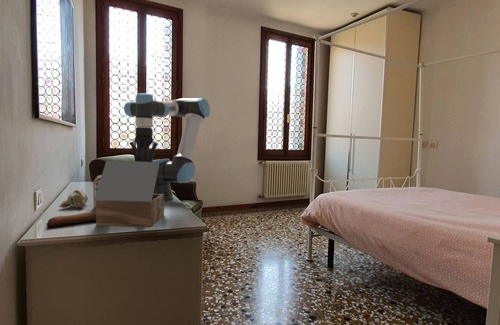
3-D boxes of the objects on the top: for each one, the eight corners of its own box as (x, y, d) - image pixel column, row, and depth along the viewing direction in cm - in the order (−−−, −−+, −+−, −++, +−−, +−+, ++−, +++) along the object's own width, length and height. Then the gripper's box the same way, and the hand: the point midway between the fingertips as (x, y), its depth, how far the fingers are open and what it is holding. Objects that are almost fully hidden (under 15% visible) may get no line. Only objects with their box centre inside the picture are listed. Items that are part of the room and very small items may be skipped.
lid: (107, 162, 129) (106, 160, 128) (159, 163, 129) (158, 162, 128) (95, 200, 120) (94, 199, 119) (151, 202, 120) (150, 201, 119)
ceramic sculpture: (92, 187, 158) (81, 194, 143) (93, 203, 159) (82, 211, 144) (70, 187, 156) (57, 194, 142) (71, 203, 157) (58, 212, 143)
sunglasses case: (93, 217, 132) (95, 205, 129) (97, 228, 128) (99, 217, 125) (44, 223, 121) (45, 211, 118) (46, 236, 117) (47, 224, 113)
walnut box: (116, 214, 139) (116, 192, 138) (164, 215, 139) (164, 194, 138) (96, 225, 121) (95, 200, 120) (150, 227, 121) (150, 202, 120)
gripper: (126, 126, 137) (126, 178, 138) (155, 127, 137) (155, 179, 138) (133, 127, 144) (133, 176, 146) (160, 128, 144) (160, 177, 146)
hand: (143, 177), depth 142 cm, fingers closed
